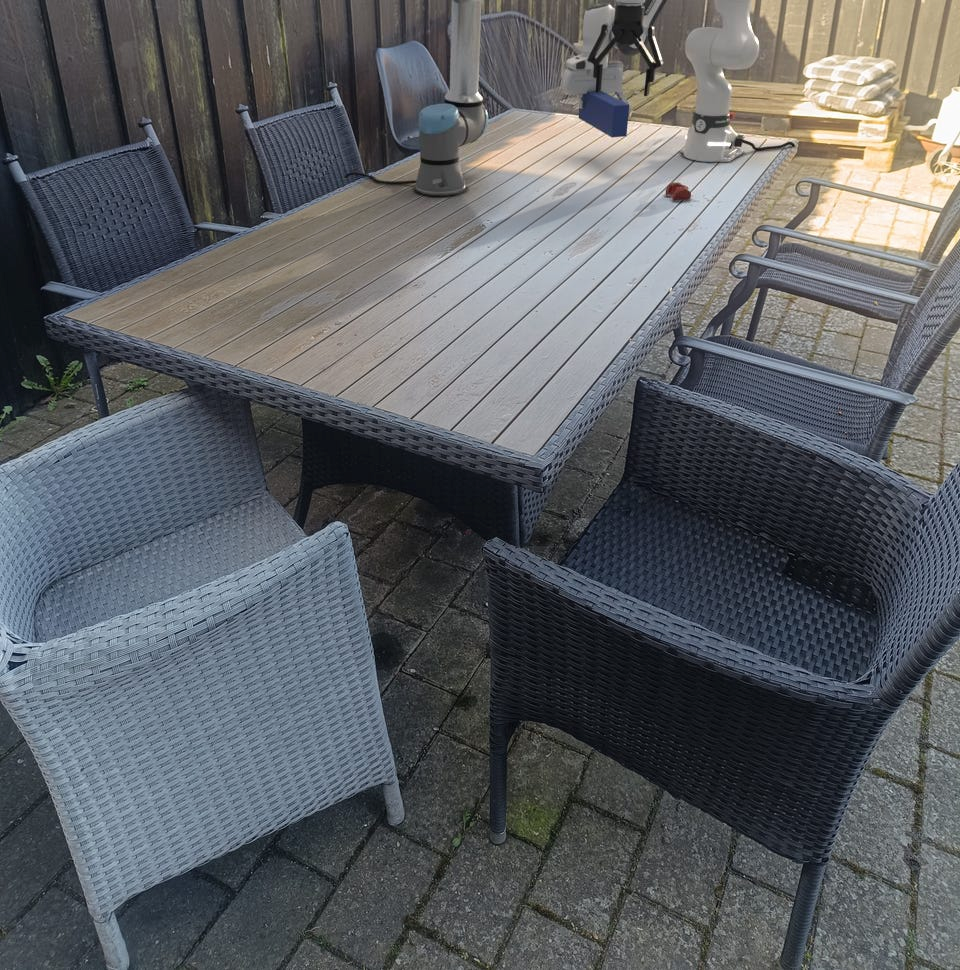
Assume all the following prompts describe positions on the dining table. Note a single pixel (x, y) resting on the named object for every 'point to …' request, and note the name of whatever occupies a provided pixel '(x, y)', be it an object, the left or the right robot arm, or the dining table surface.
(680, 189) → the dental model
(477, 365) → the dining table surface
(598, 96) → the bar
